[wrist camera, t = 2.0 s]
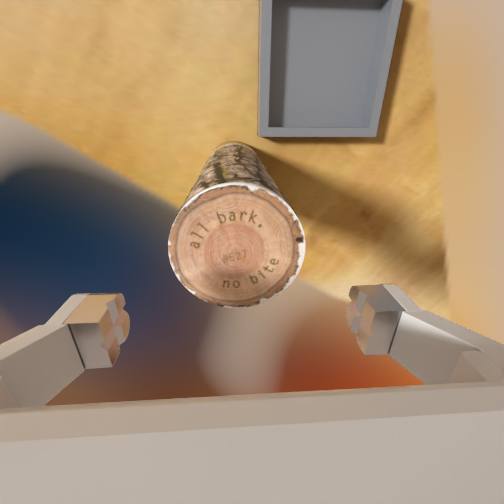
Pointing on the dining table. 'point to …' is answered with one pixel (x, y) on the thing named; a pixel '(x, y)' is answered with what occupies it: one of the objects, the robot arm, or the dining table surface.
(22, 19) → the dining table surface
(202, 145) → the dining table surface
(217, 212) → the paper tube
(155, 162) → the dining table surface
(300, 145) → the dining table surface
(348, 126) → the tray
